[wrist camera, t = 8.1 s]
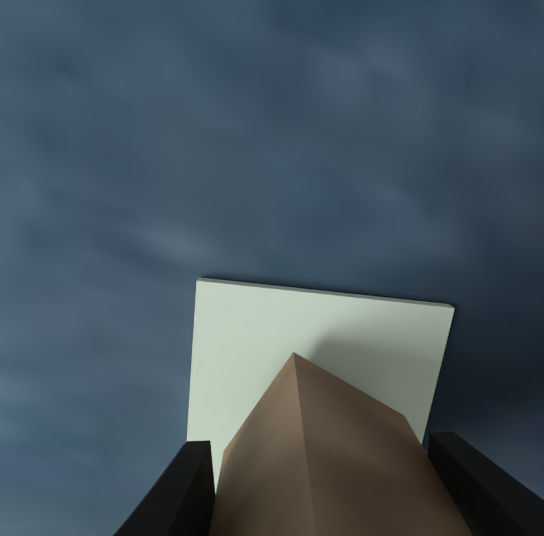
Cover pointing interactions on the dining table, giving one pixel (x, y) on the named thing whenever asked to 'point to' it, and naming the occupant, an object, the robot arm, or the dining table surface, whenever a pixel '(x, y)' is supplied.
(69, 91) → the dining table surface
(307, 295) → the sage mat
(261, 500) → the walnut block
